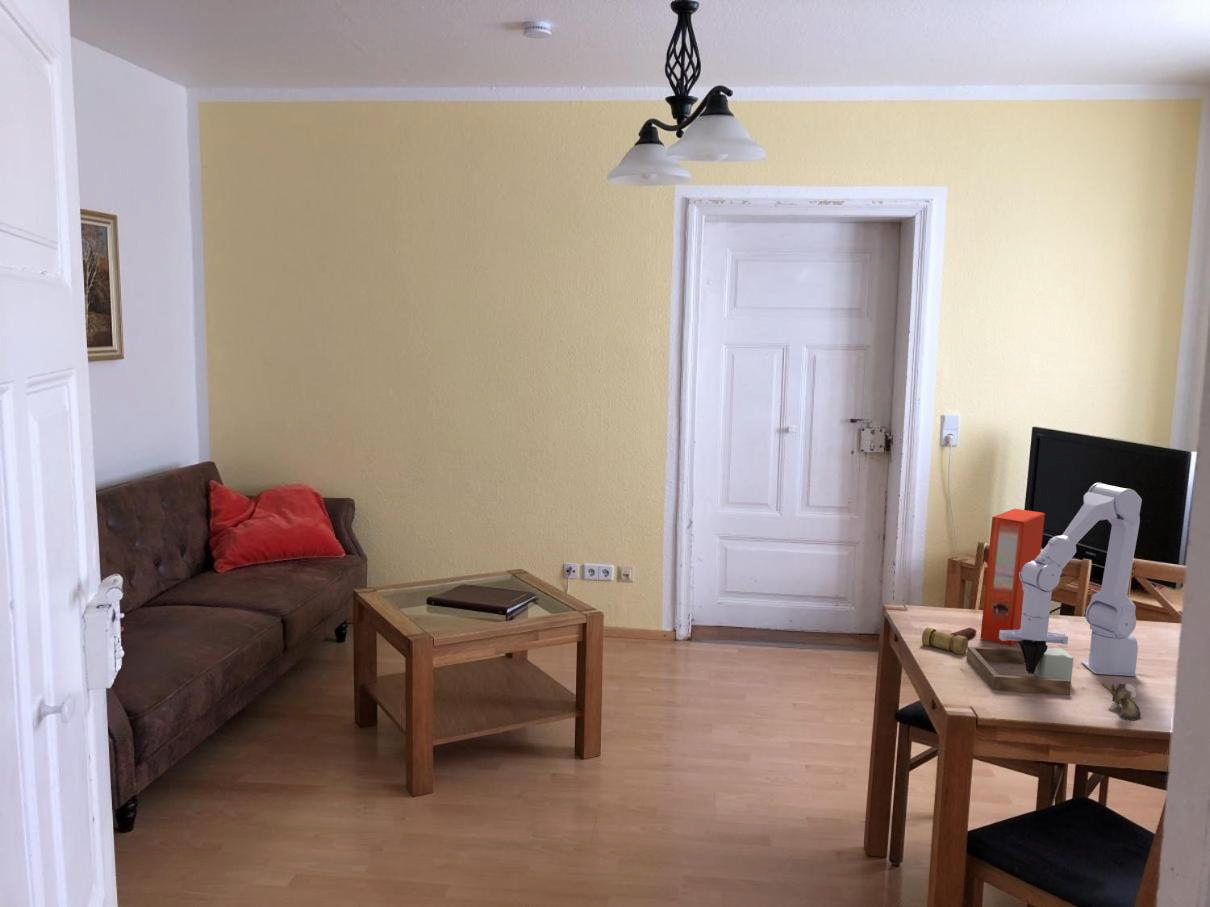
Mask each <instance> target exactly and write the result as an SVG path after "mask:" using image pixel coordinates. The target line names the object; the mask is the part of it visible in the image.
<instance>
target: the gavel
mask: <svg viewBox="0 0 1210 907" xmlns="http://www.w3.org/2000/svg"><path fill="white" fill-rule="evenodd" d="M976 633H977V629H975V628H973V627H967V628H963V629H960V630H958V631H955V632H952V633H946V632H942V631H937V630H936V629H935V628H930V627H926V628H925V629H924V630H923V632H922V636H921V643H922V645H923V646H927V647H931V646H933V647H935V648H938V649H941V650H944V649H945V651H948V652H953V653H954V654H957V655H964V654H967V648H968V646H969V641H968V639H971V638H973V637H974V636H975V635H976Z"/></svg>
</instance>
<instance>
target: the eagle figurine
mask: <svg viewBox="0 0 1210 907" xmlns="http://www.w3.org/2000/svg"><path fill="white" fill-rule="evenodd" d="M1100 682H1101V685H1102V687H1103V688H1104V689H1106V690H1107V691H1108V692H1109V693H1110V694H1111V696H1112V700H1111V704H1110V706H1109V708H1108V711H1110V710H1113V709H1115V708H1116V707H1118V706H1120V705H1121V711H1120V714H1119V717H1120V718H1121V719H1123V720H1125V721H1130V722H1132V721H1133V722H1134V721H1135V720H1136V721H1138V720H1140V718H1141V715H1142V714H1141V709H1140V707H1139V706H1138V704H1137V703H1136V701H1134V700H1133V699H1136V696H1137V694H1136V691H1137V690H1136V688H1135V687H1134V686H1133V685H1132V684H1130V683H1126V684H1125V683H1123V684H1122V683H1118V685H1117V686H1116V687H1115V684H1114V683H1112V684H1111V686H1110V687H1108V686H1107V685H1106V684H1105V683H1104V681H1100Z"/></svg>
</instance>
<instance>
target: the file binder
mask: <svg viewBox="0 0 1210 907" xmlns="http://www.w3.org/2000/svg"><path fill="white" fill-rule="evenodd" d="M1045 516H1046V514H1045V512H1039V511H1033V510H1029V509H1028V510H1027V509H1026V510H1025V509H1021V508H1012V509H1010V510H1007V511H1004V512H1002V513H1000V514H997V515H994V516H992V517H991V528H990V536H989V537H990V538H989V545H988V546H989V547H988V558H987V568H986V579H985V589H984V596H983V597H984V598H983V605H982V606H983V607H982V616H981V617H982V618H981V628H980V636H979V637H980V639H983V641H987V640H988V641H987V642H991V643H995V642H996V643H995V644H999V643H1000V645H1003V644H1004V646H1007V645H1008V646H1009V647H1012V646H1013V645H1015V644H1016V643H1018V641H1013V640H1006V641H1002V640H1000V639H999V632H1000V630H1020V628H1021V617H1022V606H1023V595H1024V591H1023V589H1022V586H1023V584H1022V582H1021V580H1020V577H1019V572H1021V570H1022V568H1023V566H1024V565H1025V564H1026V563H1028V562H1031V561H1034V560H1035V559H1036V557H1037V556H1038V555H1039V554H1040V553H1041V552H1042V543H1043V534H1044V524H1045ZM1014 643H1015V644H1014Z"/></svg>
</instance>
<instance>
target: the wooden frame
mask: <svg viewBox="0 0 1210 907" xmlns="http://www.w3.org/2000/svg"><path fill="white" fill-rule="evenodd" d="M966 660H967V661H968V662H969V663H970V664H971V665H972V666H973V667H974V669H975V670H976V671H977V673H978V674H979V675H980V676H981V677H982V678H983V679H984V681H985V682H986V683H987V684H988V685H989V687H991V689H992V690H994V691H1006V692H1007V691H1009V692H1023V693H1038V694H1039V693H1040V694H1055V695H1056V694H1057V695H1070V694H1071V686H1072V680H1071V681H1070V680H1069V679H1055V678H1039V677H1038V676H1037V677H1035V676H1020V675H1018V676H1017V675H1004V674H1003V675H1001V674H998V673H997V672H996V670H995V669H993V667H992V666H991V665H990V664H989V663H988V662H993V663H1010V664H1025V660H1024V656H1023V653H1022V650H1021V648H1020V649H1018V648H1016V649H1015V648H1003V647H1001V648H1000V647H985V646H969V645H968V647H967V651H966Z"/></svg>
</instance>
